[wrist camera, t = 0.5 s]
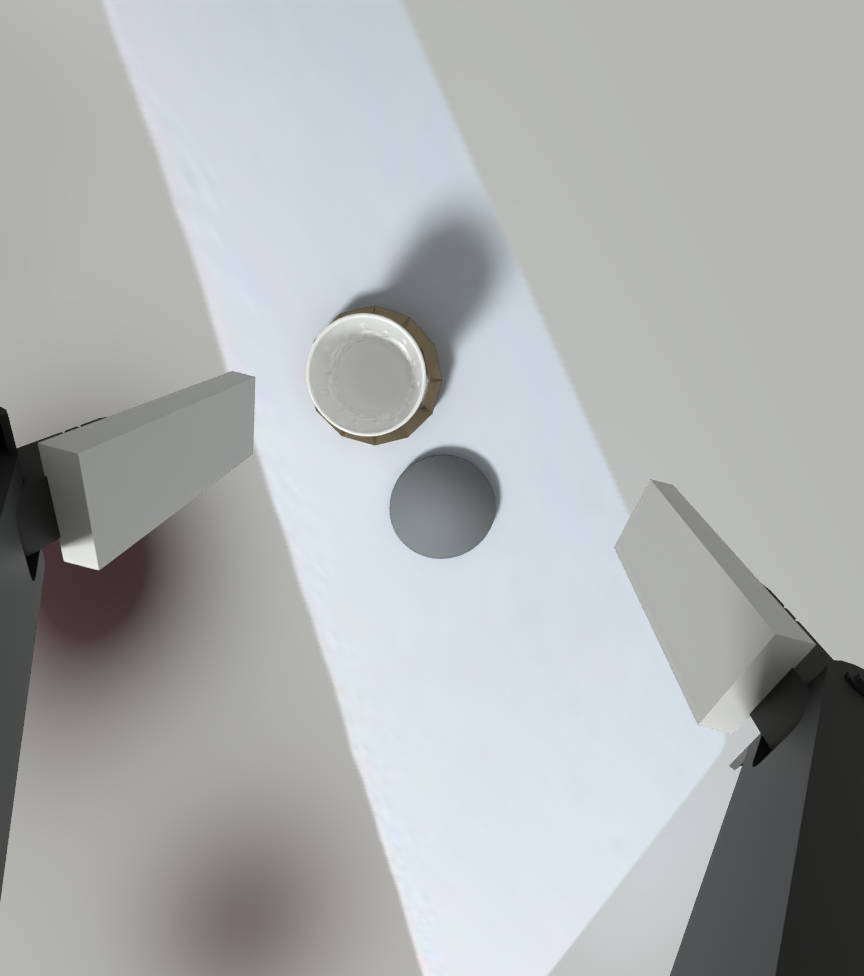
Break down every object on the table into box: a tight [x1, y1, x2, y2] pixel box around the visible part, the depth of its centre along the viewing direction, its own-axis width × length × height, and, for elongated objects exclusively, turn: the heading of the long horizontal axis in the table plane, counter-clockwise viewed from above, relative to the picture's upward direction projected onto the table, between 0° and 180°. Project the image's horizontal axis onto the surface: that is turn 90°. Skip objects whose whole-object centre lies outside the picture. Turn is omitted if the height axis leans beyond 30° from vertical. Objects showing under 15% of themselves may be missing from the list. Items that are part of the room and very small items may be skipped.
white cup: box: [306, 313, 426, 436], centre depth 33 cm, size 8×8×10 cm
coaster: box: [390, 455, 495, 559], centre depth 40 cm, size 10×10×1 cm
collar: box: [313, 306, 442, 445], centre depth 37 cm, size 11×11×2 cm
